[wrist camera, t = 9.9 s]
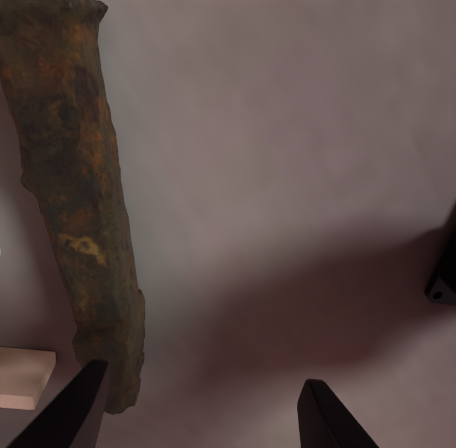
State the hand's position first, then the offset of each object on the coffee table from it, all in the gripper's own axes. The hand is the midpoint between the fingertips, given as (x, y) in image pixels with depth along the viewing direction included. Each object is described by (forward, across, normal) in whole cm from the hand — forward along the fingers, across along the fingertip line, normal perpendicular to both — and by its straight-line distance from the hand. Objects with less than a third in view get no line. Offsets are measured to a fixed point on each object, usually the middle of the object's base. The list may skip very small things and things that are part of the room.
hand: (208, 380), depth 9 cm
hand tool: (+10, +4, +1) cm, 11 cm away
